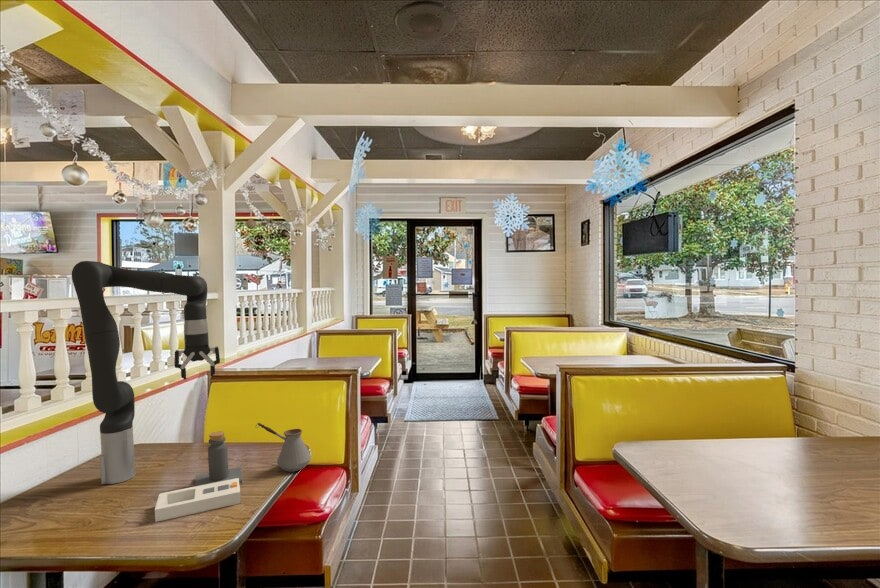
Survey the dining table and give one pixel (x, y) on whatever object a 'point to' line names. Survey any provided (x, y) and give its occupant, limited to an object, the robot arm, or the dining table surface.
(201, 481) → the mat
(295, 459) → the coffee pot
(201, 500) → the power strip
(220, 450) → the bottle
